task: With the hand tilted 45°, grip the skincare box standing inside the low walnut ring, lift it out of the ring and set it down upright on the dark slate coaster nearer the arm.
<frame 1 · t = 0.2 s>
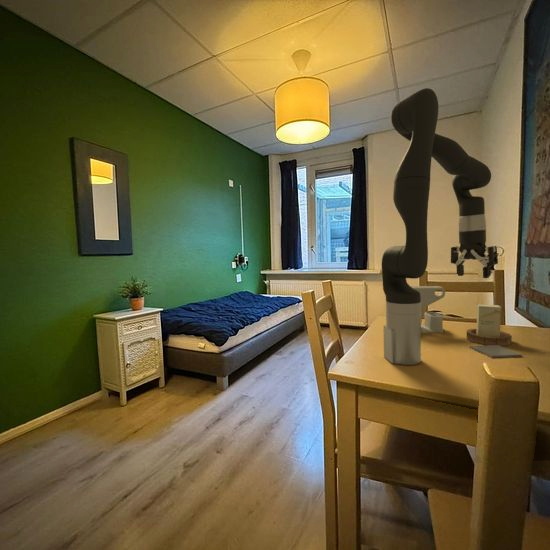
hand: (473, 276, 99), 22 cm above the table, tool pointing down, fingers open, 8 cm apart
walnut ring stand: (488, 340, 100), on the table
phone holder: (417, 330, 117), on the table
slate coaster: (494, 352, 88), on the table
skincare box: (487, 340, 100), resting in walnut ring stand
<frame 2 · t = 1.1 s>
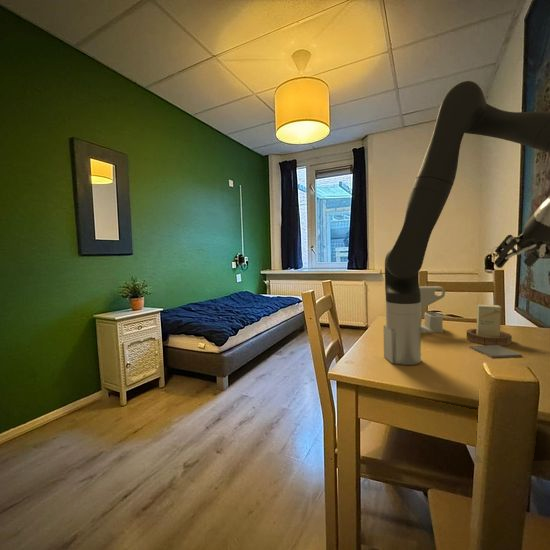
hand: (512, 264, 81), 27 cm above the table, tool tilted 45°, fingers open, 8 cm apart
nothing on the table moved.
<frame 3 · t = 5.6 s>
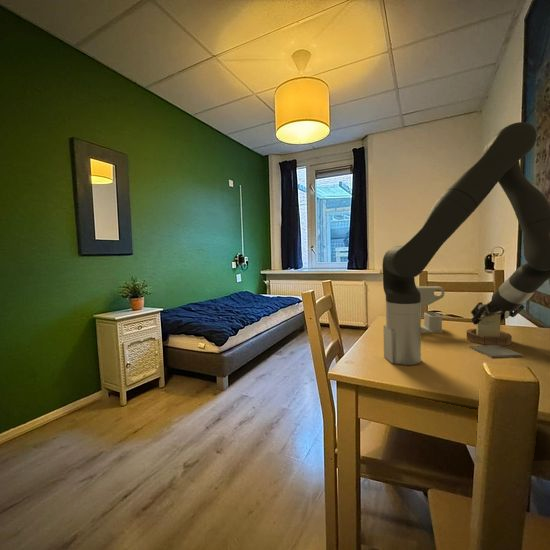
hand: (485, 321, 101), 6 cm above the table, tool tilted 45°, fingers closed on skincare box, 7 cm apart
skincare box: (487, 340, 100), resting in walnut ring stand, touching gripper
everything else where it was.
when the fingers open (8 cm above the table, at t = 11.6 s): skincare box drops 1 cm, resting on slate coaster.
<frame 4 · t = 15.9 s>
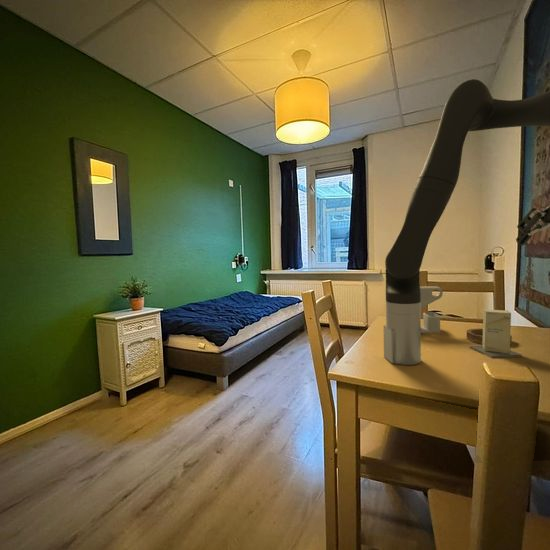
hand: (535, 242, 76), 33 cm above the table, tool tilted 45°, fingers open, 8 cm apart
skincare box: (495, 350, 88), resting on slate coaster
at the end: skincare box inside the target area on the slate coaster (0.3 cm from its centre), point 0.4 cm above the slate coaster's base; skincare box tilted 0°; the gripper is holding nothing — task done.
